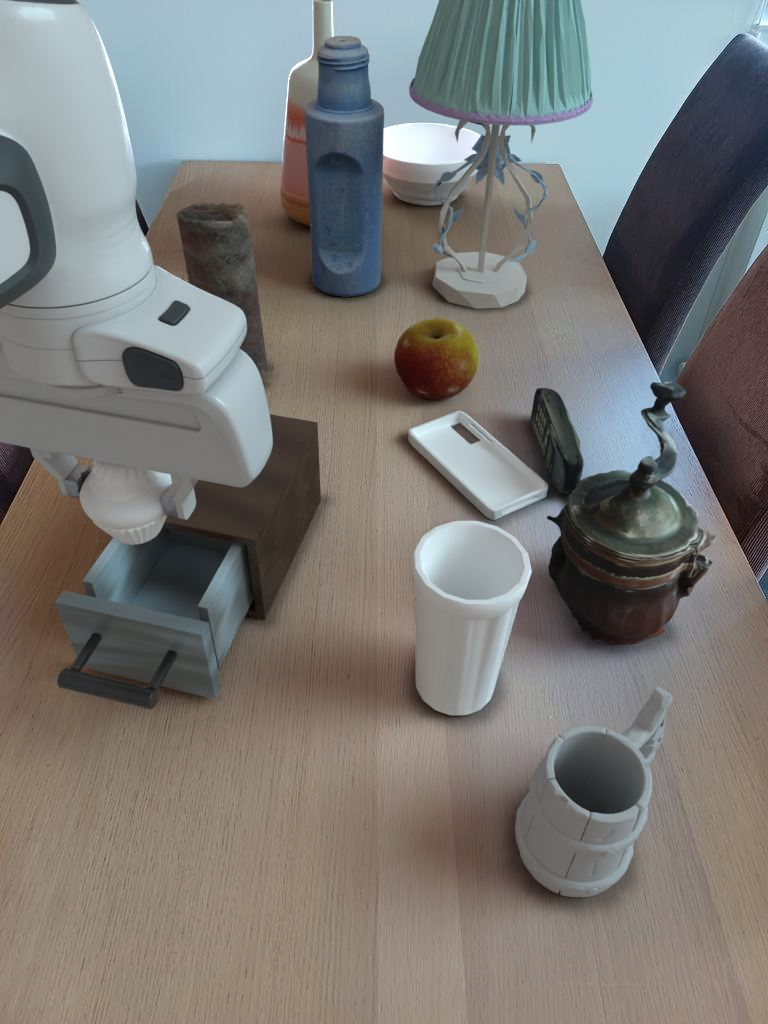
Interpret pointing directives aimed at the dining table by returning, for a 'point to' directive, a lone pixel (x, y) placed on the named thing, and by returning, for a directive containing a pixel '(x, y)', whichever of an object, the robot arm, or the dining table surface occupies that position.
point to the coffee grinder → (630, 543)
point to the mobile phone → (557, 440)
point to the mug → (590, 803)
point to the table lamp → (499, 114)
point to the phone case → (478, 466)
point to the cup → (465, 611)
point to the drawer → (156, 617)
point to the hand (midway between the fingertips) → (130, 501)
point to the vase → (302, 119)
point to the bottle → (345, 171)
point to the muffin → (125, 501)
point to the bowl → (425, 160)
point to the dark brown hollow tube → (225, 264)
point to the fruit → (436, 358)
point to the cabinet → (264, 509)
